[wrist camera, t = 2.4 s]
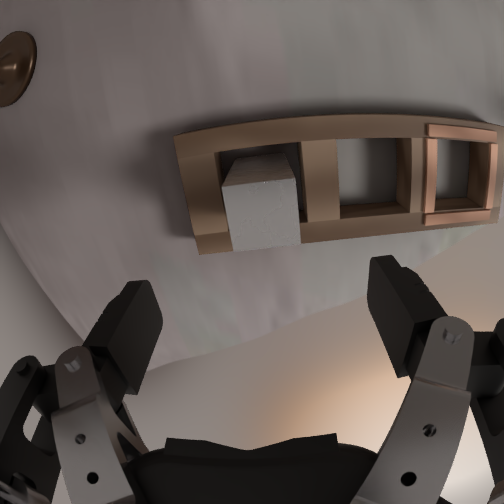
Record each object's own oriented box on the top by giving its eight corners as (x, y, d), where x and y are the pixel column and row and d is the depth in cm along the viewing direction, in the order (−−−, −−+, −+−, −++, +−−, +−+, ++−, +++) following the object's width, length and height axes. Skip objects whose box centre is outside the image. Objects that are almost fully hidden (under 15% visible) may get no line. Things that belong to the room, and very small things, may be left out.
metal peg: (235, 158, 24) (221, 187, 16) (283, 152, 23) (295, 178, 15) (242, 203, 25) (233, 251, 17) (288, 197, 25) (301, 244, 17)
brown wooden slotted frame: (183, 132, 22) (171, 136, 20) (487, 122, 20) (507, 127, 17) (205, 239, 27) (198, 256, 24) (481, 212, 24) (499, 224, 21)
